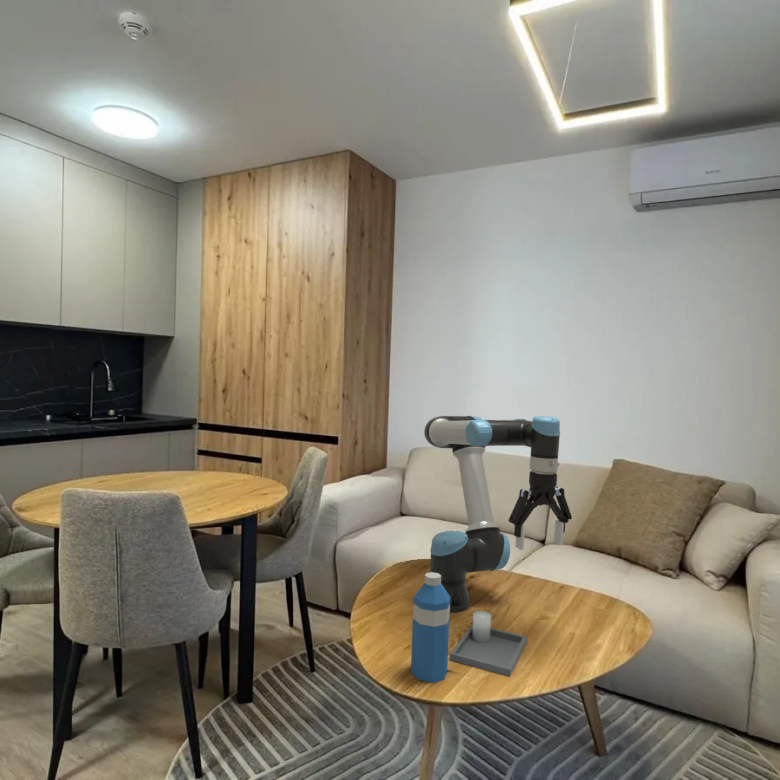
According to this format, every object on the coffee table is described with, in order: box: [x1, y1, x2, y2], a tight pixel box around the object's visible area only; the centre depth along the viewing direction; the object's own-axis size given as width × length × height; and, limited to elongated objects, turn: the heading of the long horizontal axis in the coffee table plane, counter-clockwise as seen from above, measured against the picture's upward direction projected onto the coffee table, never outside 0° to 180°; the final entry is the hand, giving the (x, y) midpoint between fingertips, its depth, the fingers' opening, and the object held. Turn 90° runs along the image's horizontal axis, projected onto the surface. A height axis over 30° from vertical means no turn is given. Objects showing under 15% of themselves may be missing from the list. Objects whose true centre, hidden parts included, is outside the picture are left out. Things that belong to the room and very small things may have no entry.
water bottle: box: [410, 571, 451, 684], centre depth 141 cm, size 9×9×25 cm
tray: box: [449, 623, 528, 677], centre depth 152 cm, size 16×20×2 cm
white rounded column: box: [472, 610, 492, 643], centre depth 158 cm, size 5×5×7 cm
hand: (539, 546), depth 157 cm, fingers open, 13 cm apart
